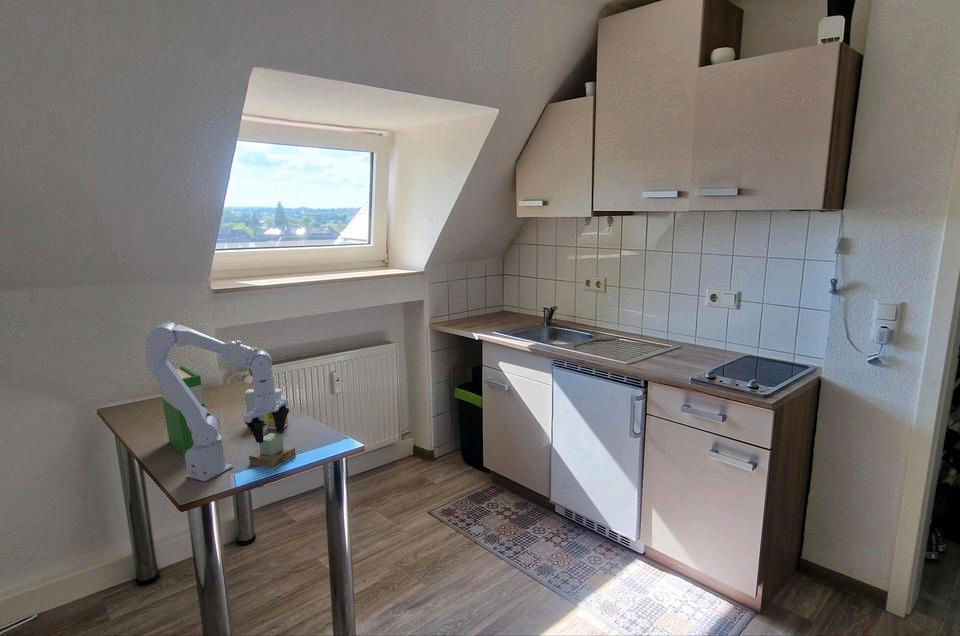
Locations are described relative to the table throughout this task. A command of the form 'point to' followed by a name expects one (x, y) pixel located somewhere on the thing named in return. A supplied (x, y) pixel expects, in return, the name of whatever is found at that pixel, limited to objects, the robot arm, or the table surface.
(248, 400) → the skincare box
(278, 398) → the supplement bottle
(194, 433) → the robot arm
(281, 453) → the walnut block
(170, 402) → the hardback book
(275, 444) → the sage cube
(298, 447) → the table surface
